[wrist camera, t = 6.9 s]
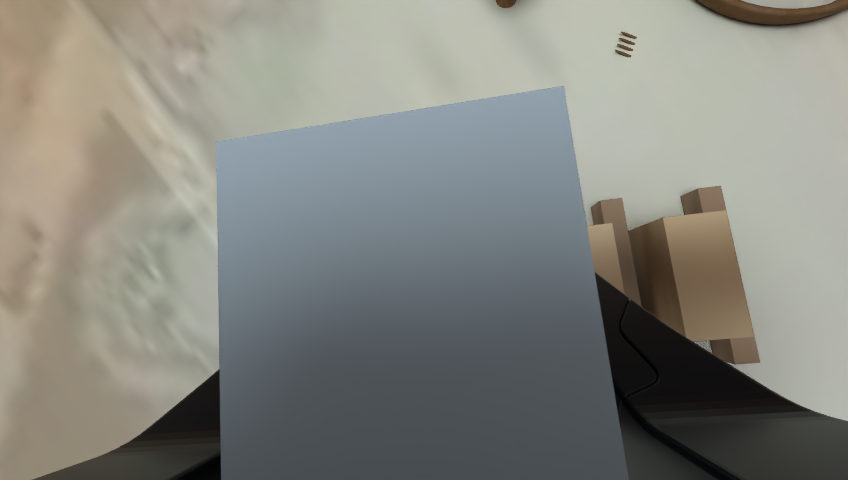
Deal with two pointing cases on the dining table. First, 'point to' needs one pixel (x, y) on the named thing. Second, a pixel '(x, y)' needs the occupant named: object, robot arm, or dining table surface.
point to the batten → (413, 300)
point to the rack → (614, 213)
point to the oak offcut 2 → (691, 276)
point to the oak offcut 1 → (605, 254)
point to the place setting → (748, 13)
